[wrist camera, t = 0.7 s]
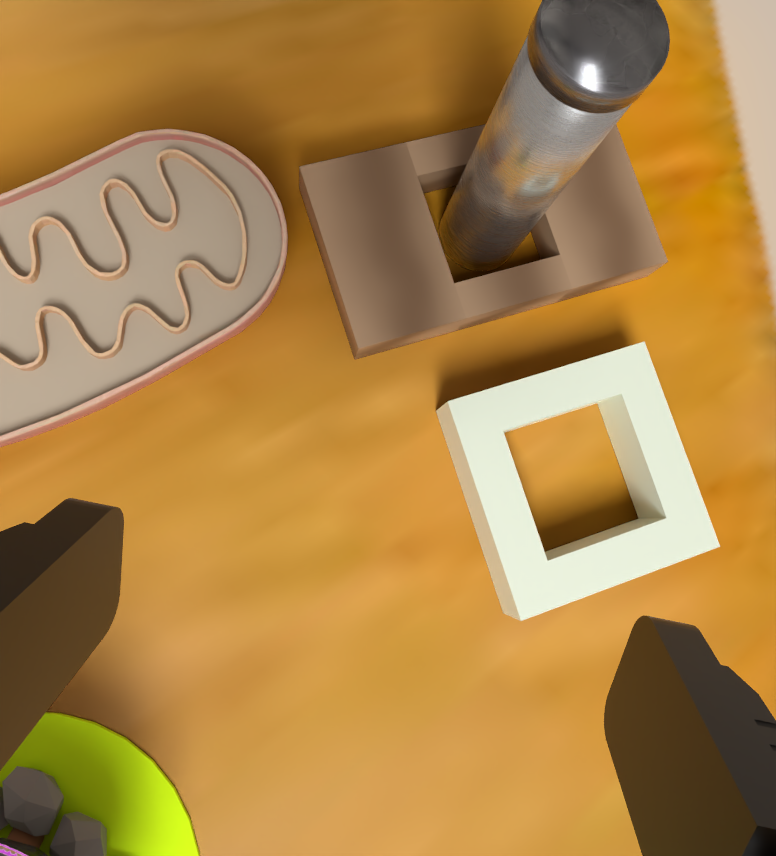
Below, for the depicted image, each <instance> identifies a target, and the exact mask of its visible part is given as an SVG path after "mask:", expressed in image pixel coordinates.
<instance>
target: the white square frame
mask: <svg viewBox="0 0 776 856" xmlns="http://www.w3.org/2000/svg"><path fill="white" fill-rule="evenodd" d="M596 403H597V404H598V407H599V410H600V412H601V415H602V418H603V421H604V424H605V426H606V429H607V432H608V435H609V437H610V440H611V443H612V446H613V449H614V451H615V454H616V457H617V460H618V463H619V465H620V468H621V471H622V474H623V477H624V479H625V482H626V485H627V488H628V491H629V493H630V496H631V499H632V502H633V504H634V507H635V510H636V513H637V516H638V518H639V519H636V520H633V521H630V522H627V523H625V524H622V525H619V526H616V527H613V528H610V529H608V530H605V531H602V532H599V533H596V534H594V535H591V536H588V537H585V538H582V539H580V540H577V541H574V542H571V543H568V544H566V545H563V546H560V547H557V548H554V549H552V550H549V551H546V552H544V549H543V546H542V543H541V540H540V537H539V534H538V531H537V528H536V525H535V522H534V520H533V517H532V514H531V511H530V508H529V505H528V502H527V499H526V496H525V493H524V490H523V487H522V484H521V482H520V479H519V476H518V473H517V470H516V467H515V464H514V461H513V458H512V455H511V452H510V449H509V446H508V444H507V441H506V438H505V435H504V433H505V432H508V431H511V430H515V429H518V428H521V427H524V426H527V425H530V424H533V423H537V422H540V421H543V420H546V419H549V418H552V417H555V416H559V415H562V414H565V413H568V412H571V411H574V410H577V409H581V408H584V407H587V406H590V405H593V404H596ZM436 413H437V416H438V419H439V422H440V425H441V428H442V431H443V434H444V437H445V440H446V443H447V446H448V449H449V452H450V455H451V458H452V461H453V464H454V467H455V470H456V473H457V476H458V479H459V482H460V485H461V488H462V491H463V494H464V497H465V500H466V503H467V506H468V509H469V512H470V515H471V518H472V521H473V524H474V527H475V530H476V533H477V536H478V539H479V542H480V545H481V548H482V551H483V554H484V557H485V560H486V563H487V566H488V569H489V572H490V575H491V578H492V581H493V584H494V587H495V590H496V593H497V596H498V599H499V602H500V605H501V608H502V611H503V613H504V614H506V615H509V616H511V617H513V618H516V619H518V620H520V621H522V620H525V619H527V618H530V617H533V616H536V615H538V614H541V613H544V612H546V611H549V610H552V609H554V608H557V607H560V606H562V605H565V604H568V603H570V602H573V601H576V600H578V599H581V598H584V597H586V596H589V595H592V594H594V593H597V592H600V591H602V590H605V589H608V588H610V587H613V586H616V585H618V584H621V583H624V582H626V581H629V580H632V579H634V578H637V577H640V576H642V575H645V574H648V573H651V572H653V571H656V570H659V569H661V568H664V567H667V566H669V565H672V564H675V563H677V562H680V561H683V560H685V559H688V558H691V557H693V556H696V555H699V554H701V553H704V552H707V551H709V550H712V549H715V548H717V547H720V545H719V542H718V540H717V537H716V534H715V531H714V529H713V526H712V523H711V521H710V518H709V515H708V512H707V510H706V507H705V504H704V502H703V499H702V496H701V494H700V491H699V488H698V485H697V483H696V480H695V477H694V475H693V472H692V469H691V466H690V464H689V461H688V458H687V456H686V453H685V450H684V447H683V445H682V442H681V439H680V437H679V434H678V431H677V429H676V426H675V423H674V420H673V418H672V415H671V412H670V410H669V407H668V404H667V401H666V399H665V396H664V393H663V391H662V388H661V385H660V382H659V380H658V377H657V374H656V372H655V369H654V366H653V364H652V361H651V358H650V355H649V353H648V350H647V347H646V345H645V342H641V343H638V344H635V345H631V346H628V347H625V348H622V349H618V350H615V351H612V352H608V353H605V354H602V355H599V356H595V357H592V358H589V359H585V360H582V361H579V362H575V363H572V364H569V365H566V366H562V367H559V368H556V369H552V370H549V371H546V372H543V373H539V374H536V375H533V376H529V377H526V378H523V379H519V380H516V381H513V382H510V383H506V384H503V385H500V386H496V387H493V388H490V389H487V390H483V391H480V392H477V393H473V394H470V395H467V396H463V397H460V398H457V399H454V400H450V401H447V402H446V403H445V404H444V405H442V406H441V407H440V408H439V409H438V410H436Z"/></svg>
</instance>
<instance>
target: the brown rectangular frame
mask: <svg viewBox="0 0 776 856" xmlns="http://www.w3.org/2000/svg"><path fill="white" fill-rule="evenodd" d="M485 125H486V124H484V125H480V126H476V127H471V128H467V129H462V130H458V131H454V132H449V133H445V134H440V135H436V136H432V137H427V138H423V139H418V140H414V141H410V142H405V143H401V144H396V145H392V146H388V147H383V148H379V149H374V150H370V151H366V152H361V153H357V154H352V155H348V156H343V157H339V158H335V159H330V160H326V161H321V162H317V163H313V164H308V165H304V166H299V189H300V192H301V195H302V198H303V201H304V204H305V207H306V210H307V214H308V217H309V220H310V223H311V226H312V229H313V232H314V235H315V238H316V241H317V245H318V248H319V251H320V254H321V257H322V260H323V263H324V266H325V269H326V272H327V275H328V279H329V282H330V285H331V288H332V291H333V294H334V297H335V300H336V303H337V306H338V310H339V313H340V316H341V319H342V322H343V325H344V328H345V331H346V334H347V337H348V341H349V344H350V347H351V350H352V353H353V356H354V359H359V358H362V357H366V356H369V355H373V354H376V353H380V352H383V351H387V350H390V349H394V348H397V347H401V346H404V345H408V344H411V343H415V342H418V341H422V340H425V339H429V338H432V337H436V336H440V335H443V334H447V333H450V332H454V331H457V330H461V329H464V328H468V327H471V326H475V325H478V324H482V323H485V322H489V321H492V320H496V319H499V318H503V317H506V316H510V315H513V314H517V313H520V312H524V311H527V310H531V309H534V308H538V307H542V306H545V305H549V304H552V303H556V302H559V301H563V300H566V299H570V298H573V297H577V296H580V295H584V294H587V293H591V292H594V291H598V290H601V289H605V288H608V287H612V286H615V285H619V284H622V283H626V282H629V281H633V280H637V279H640V278H644V277H647V276H648V275H650V274H651V273H652V272H654V271H655V270H657V269H658V268H660V267H661V266H662V265H664V264H665V263H667V262H668V260H667V258H666V255H665V252H664V250H663V247H662V244H661V242H660V239H659V237H658V234H657V231H656V229H655V226H654V223H653V221H652V218H651V215H650V213H649V210H648V207H647V205H646V202H645V199H644V197H643V194H642V192H641V189H640V186H639V184H638V181H637V178H636V176H635V173H634V170H633V168H632V165H631V162H630V160H629V157H628V154H627V152H626V149H625V147H624V144H623V141H622V139H621V136H620V133H619V131H618V128H617V125H616V124H615V125H614V127H613V128H612V129H611V130H610V132H609V133H608V134H607V135H606V137H605V138H604V139H603V141H602V142H601V143H600V144H599V146H598V147H597V148H596V149H595V151H594V152H593V153H592V154H591V156H590V157H589V158H588V159H587V161H586V162H585V163H584V164H583V166H582V167H581V168H580V169H579V171H578V172H577V173H576V174H575V176H574V177H573V178H572V179H571V181H570V182H569V183H568V184H567V186H566V187H565V188H564V190H563V191H562V192H561V193H560V195H559V196H558V197H557V198H556V200H555V201H554V202H553V203H552V205H551V206H550V207H549V208H548V210H547V211H546V212H545V213H544V215H543V216H542V217H541V218H540V220H539V221H538V222H537V223H536V225H535V226H534V227H533V228H532V230H531V233H532V236H533V239H534V242H535V244H536V247H537V250H538V253H539V256H540V258H541V260H539V261H535V262H531V263H528V264H524V265H520V266H516V267H513V268H509V269H505V270H502V271H498V272H494V273H491V274H487V275H483V276H479V277H476V278H472V279H468V280H465V281H461V282H457V283H454V281H453V278H452V275H451V272H450V269H449V267H448V264H447V261H446V258H445V255H444V252H443V249H442V246H441V243H440V240H439V237H438V234H437V231H436V229H435V226H434V223H433V220H432V217H431V214H430V211H429V208H428V205H427V202H426V199H425V196H424V194H423V193H427V192H431V191H435V190H439V189H443V188H447V187H451V186H455V185H457V184H458V182H459V180H460V178H461V176H462V174H463V172H464V170H465V167H466V165H467V163H468V161H469V159H470V157H471V155H472V153H473V150H474V148H475V146H476V144H477V142H478V140H479V138H480V136H481V134H482V131H483V129H484V127H485Z"/></svg>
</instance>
